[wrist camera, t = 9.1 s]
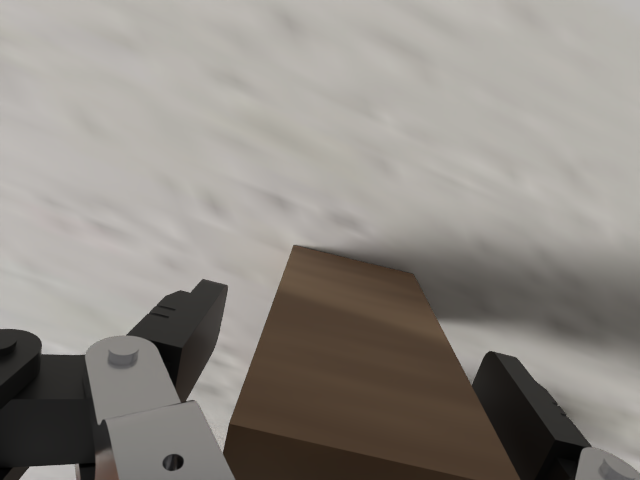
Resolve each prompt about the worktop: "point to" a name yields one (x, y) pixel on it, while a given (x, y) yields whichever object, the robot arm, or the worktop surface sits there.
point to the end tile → (357, 385)
